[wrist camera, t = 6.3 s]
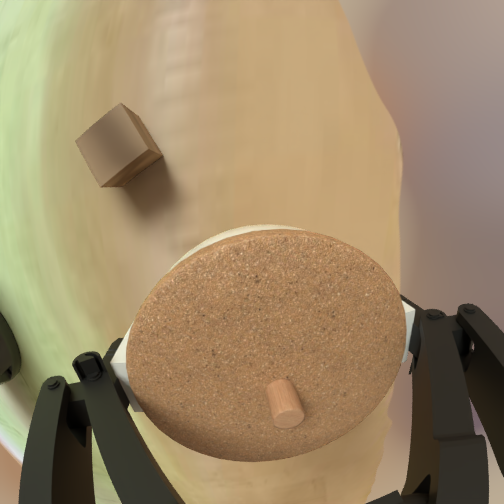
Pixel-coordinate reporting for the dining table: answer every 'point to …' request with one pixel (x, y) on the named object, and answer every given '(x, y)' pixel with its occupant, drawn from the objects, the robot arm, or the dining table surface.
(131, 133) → the cube walnut
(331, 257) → the lidded jar
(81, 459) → the robot arm
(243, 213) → the dining table surface
